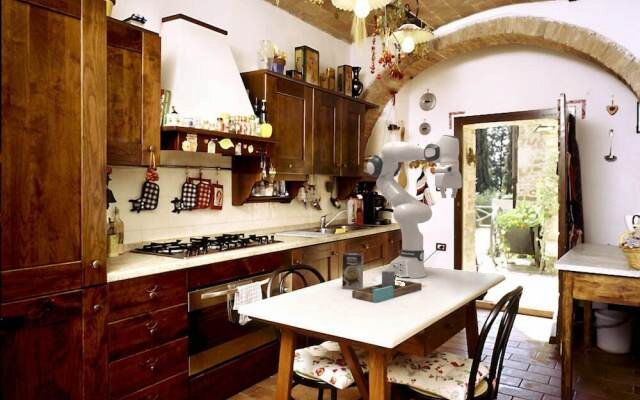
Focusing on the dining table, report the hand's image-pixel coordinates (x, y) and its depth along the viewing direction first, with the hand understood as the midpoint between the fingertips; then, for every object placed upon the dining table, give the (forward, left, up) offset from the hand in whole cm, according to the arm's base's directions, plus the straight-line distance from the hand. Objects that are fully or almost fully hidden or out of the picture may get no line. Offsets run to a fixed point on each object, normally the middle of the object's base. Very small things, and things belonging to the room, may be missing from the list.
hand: (448, 198), depth 219 cm
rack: (-11, -33, -42) cm, 55 cm away
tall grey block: (-11, -33, -43) cm, 55 cm away
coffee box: (-30, -35, -43) cm, 63 cm away
